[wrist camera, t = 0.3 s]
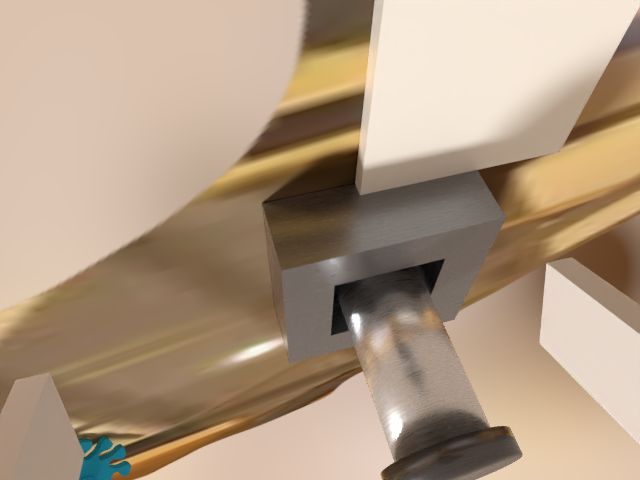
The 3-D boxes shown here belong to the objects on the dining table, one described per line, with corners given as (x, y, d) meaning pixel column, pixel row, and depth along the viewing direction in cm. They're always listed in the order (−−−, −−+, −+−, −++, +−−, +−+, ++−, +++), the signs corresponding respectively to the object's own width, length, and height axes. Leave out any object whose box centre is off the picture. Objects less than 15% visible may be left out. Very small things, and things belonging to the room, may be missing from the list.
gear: (149, 450, 60) (103, 539, 58) (125, 428, 64) (81, 510, 62) (60, 430, 52) (4, 532, 50) (39, 407, 56) (-14, 500, 54)
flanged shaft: (313, 233, 35) (400, 487, 27) (425, 208, 36) (543, 441, 28) (312, 292, 42) (382, 510, 33) (408, 268, 43) (498, 473, 34)
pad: (378, -37, 22) (386, -24, 22) (666, -77, 24) (679, -67, 24) (355, 183, 34) (360, 195, 33) (551, 141, 36) (559, 151, 36)
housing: (262, 203, 33) (281, 270, 30) (470, 158, 35) (506, 217, 32) (274, 307, 44) (289, 363, 42) (430, 269, 47) (454, 319, 44)
